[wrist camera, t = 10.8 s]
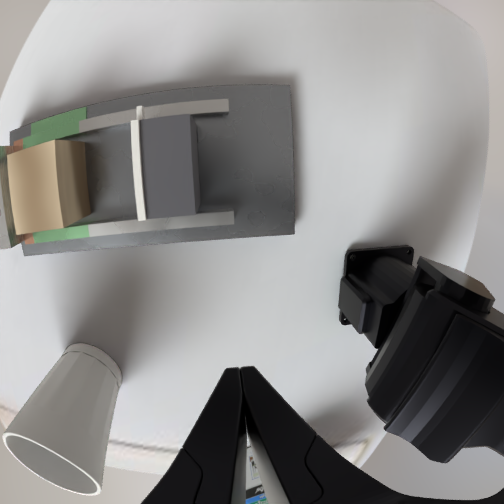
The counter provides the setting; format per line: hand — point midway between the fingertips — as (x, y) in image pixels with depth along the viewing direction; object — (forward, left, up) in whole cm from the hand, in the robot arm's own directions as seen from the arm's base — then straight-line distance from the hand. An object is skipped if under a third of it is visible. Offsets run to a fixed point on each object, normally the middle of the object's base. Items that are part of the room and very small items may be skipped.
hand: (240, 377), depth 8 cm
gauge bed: (+6, -6, -13) cm, 16 cm away
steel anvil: (+16, -6, -12) cm, 21 cm away
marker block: (+11, -6, -12) cm, 17 cm away
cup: (+14, +11, -13) cm, 22 cm away
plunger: (+3, -6, -12) cm, 14 cm away
